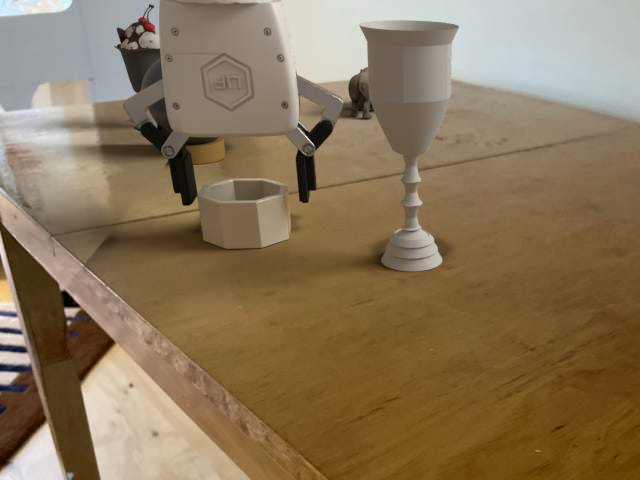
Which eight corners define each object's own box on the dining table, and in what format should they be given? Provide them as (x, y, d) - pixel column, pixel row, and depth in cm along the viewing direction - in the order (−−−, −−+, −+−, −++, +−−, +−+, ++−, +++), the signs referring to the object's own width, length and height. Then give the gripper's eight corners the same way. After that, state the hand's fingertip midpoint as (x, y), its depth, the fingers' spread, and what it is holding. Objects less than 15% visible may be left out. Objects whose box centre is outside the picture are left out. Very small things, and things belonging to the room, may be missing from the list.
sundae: (189, 129, 103) (170, 5, 96) (135, 134, 100) (113, 6, 93) (175, 120, 108) (156, 1, 101) (123, 124, 105) (101, 2, 97)
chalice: (430, 240, 69) (430, 19, 60) (470, 265, 64) (477, 29, 55) (354, 254, 65) (343, 21, 57) (390, 282, 60) (385, 32, 52)
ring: (199, 249, 65) (192, 203, 63) (212, 221, 72) (206, 178, 70) (287, 247, 66) (282, 202, 64) (293, 220, 73) (289, 177, 71)
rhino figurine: (385, 101, 124) (384, 61, 121) (374, 119, 112) (373, 76, 109) (360, 101, 124) (358, 61, 121) (346, 119, 112) (344, 75, 109)
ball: (142, 168, 86) (122, 58, 81) (161, 146, 95) (145, 45, 89) (235, 168, 87) (222, 59, 82) (246, 146, 96) (235, 47, 91)
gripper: (85, -20, 55) (132, 216, 63) (334, -17, 57) (349, 210, 65) (114, -24, 61) (153, 189, 69) (336, -21, 64) (349, 185, 72)
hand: (248, 199), depth 67 cm, fingers open, 9 cm apart
